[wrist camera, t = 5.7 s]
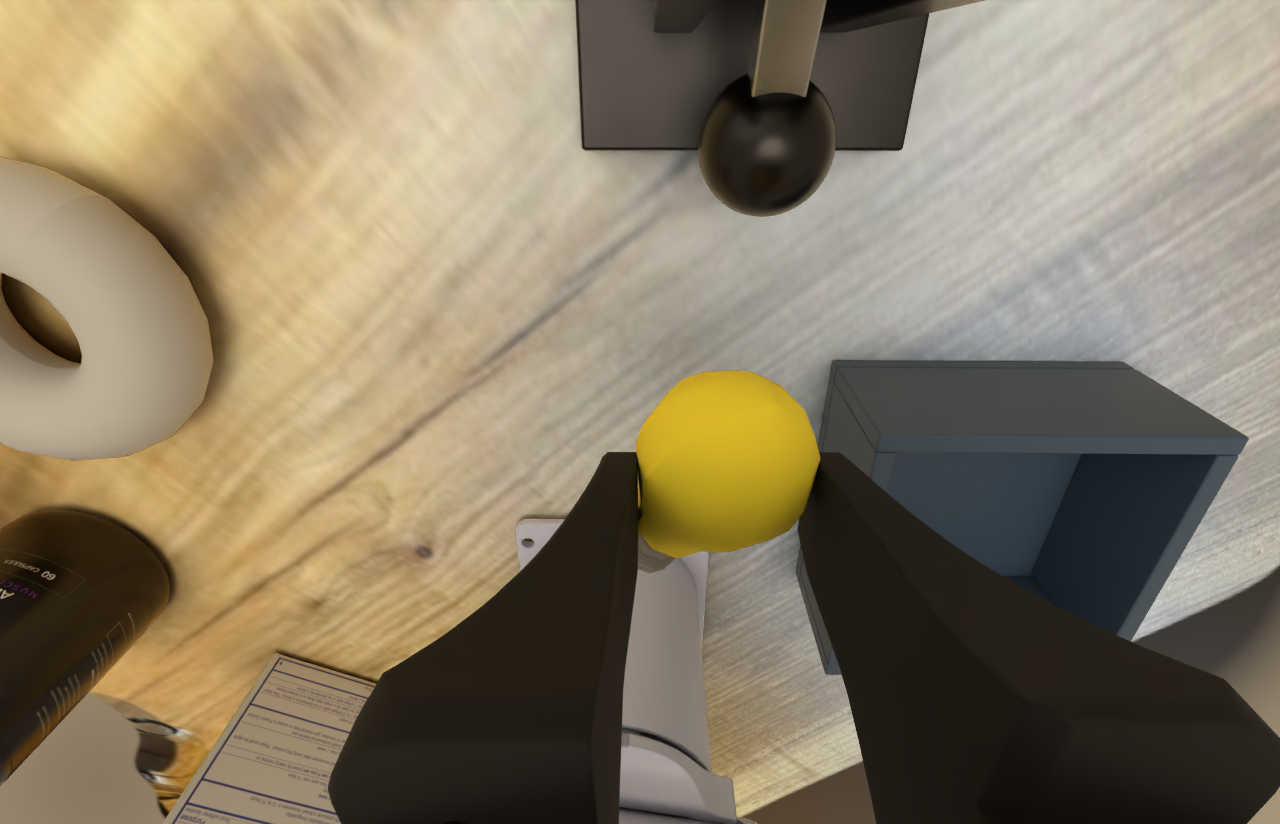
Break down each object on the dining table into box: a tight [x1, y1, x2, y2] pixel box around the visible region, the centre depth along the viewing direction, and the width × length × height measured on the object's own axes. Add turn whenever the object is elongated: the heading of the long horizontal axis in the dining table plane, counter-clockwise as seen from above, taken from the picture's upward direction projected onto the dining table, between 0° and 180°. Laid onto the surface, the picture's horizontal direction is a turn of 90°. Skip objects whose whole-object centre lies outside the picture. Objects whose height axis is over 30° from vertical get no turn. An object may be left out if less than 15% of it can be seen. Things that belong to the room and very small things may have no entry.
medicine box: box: [162, 653, 376, 824], centre depth 27 cm, size 8×4×9 cm, turn 63°
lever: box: [698, 0, 836, 217], centre depth 11 cm, size 8×3×3 cm, turn 0°
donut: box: [0, 157, 213, 461], centre depth 19 cm, size 10×3×10 cm
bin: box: [796, 360, 1249, 675], centre depth 21 cm, size 10×10×5 cm
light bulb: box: [636, 370, 820, 574], centre depth 13 cm, size 3×6×4 cm, turn 154°
